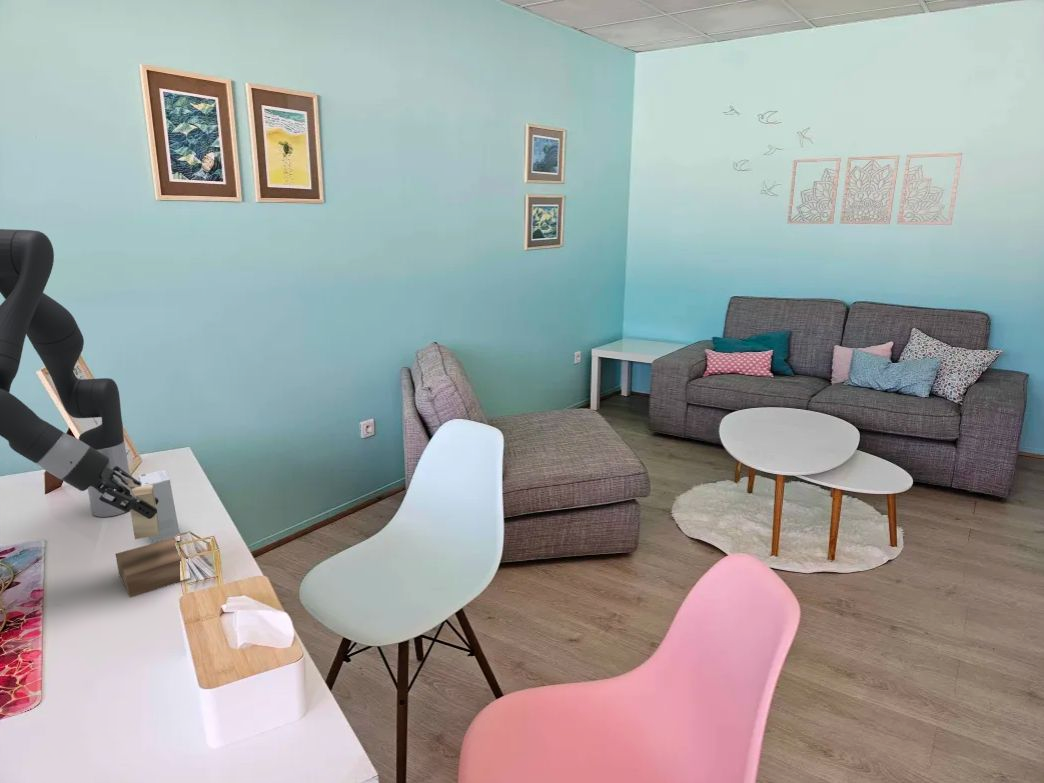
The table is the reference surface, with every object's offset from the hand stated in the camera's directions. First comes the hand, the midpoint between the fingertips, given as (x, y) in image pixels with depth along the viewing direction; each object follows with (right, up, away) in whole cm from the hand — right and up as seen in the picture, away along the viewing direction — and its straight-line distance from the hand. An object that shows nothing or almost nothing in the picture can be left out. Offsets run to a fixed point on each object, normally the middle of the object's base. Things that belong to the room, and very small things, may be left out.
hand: (154, 509), depth 137 cm
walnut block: (-2, -14, +3) cm, 15 cm away
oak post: (-2, -5, 0) cm, 5 cm away
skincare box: (-8, -10, +19) cm, 23 cm away
